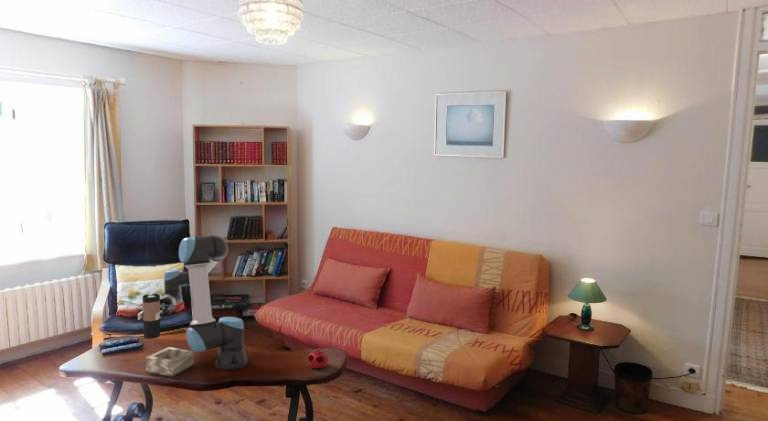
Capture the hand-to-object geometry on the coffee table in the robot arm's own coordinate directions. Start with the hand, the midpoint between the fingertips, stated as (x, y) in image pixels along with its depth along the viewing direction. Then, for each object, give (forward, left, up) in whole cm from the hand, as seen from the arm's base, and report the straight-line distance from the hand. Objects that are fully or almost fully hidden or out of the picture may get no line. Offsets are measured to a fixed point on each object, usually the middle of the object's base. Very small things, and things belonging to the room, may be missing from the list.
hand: (147, 317), depth 238 cm
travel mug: (+2, -5, -11) cm, 12 cm away
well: (-7, -7, -26) cm, 28 cm away
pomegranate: (-72, -35, -27) cm, 84 cm away
